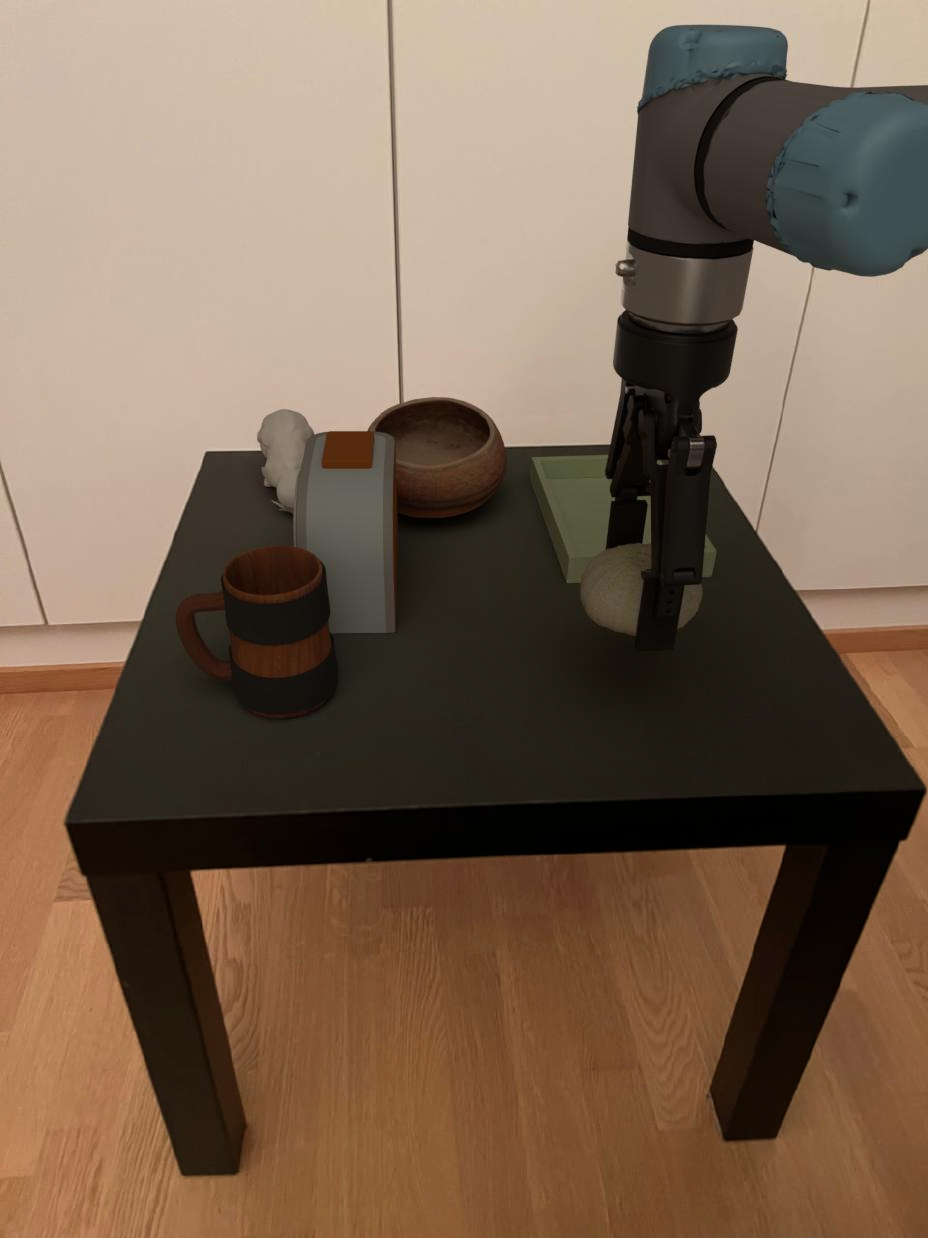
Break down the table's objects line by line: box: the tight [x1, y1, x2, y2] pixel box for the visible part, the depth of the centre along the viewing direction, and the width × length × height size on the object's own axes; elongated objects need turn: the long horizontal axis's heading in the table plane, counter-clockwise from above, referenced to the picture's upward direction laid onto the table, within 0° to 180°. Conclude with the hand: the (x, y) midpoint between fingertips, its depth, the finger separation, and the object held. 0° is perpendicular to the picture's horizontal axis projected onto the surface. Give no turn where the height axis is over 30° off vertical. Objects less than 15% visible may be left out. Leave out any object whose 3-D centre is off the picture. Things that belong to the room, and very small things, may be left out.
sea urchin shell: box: [579, 543, 704, 638], centre depth 71 cm, size 9×8×8 cm
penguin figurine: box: [256, 408, 315, 515], centre depth 103 cm, size 6×8×12 cm
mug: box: [175, 545, 339, 720], centre depth 75 cm, size 9×12×12 cm
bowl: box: [367, 396, 508, 519], centre depth 102 cm, size 16×16×10 cm
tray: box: [529, 454, 717, 584], centre depth 101 cm, size 22×15×3 cm
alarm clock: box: [292, 430, 399, 634], centre depth 87 cm, size 15×8×14 cm, turn 2°
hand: (636, 608), depth 72 cm, fingers closed on sea urchin shell, 9 cm apart
